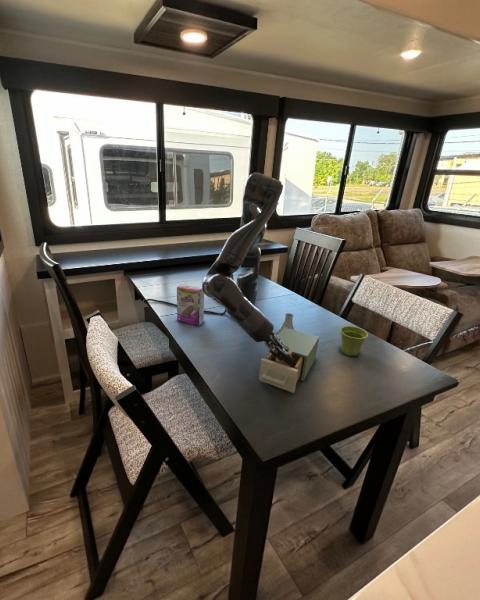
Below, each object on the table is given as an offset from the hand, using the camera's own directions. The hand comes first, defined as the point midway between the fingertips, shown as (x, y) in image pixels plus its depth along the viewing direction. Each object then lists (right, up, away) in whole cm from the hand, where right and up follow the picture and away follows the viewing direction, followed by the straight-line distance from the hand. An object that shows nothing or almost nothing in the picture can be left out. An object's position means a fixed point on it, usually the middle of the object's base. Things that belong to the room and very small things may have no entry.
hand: (289, 357), depth 97 cm
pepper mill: (-2, -5, +2) cm, 6 cm away
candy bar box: (-33, +8, +41) cm, 53 cm away
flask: (+7, +3, +30) cm, 31 cm away
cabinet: (+4, -4, +12) cm, 14 cm away
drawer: (-2, -7, +3) cm, 8 cm away
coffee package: (-18, +18, +65) cm, 70 cm away
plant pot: (+28, -2, +20) cm, 35 cm away
